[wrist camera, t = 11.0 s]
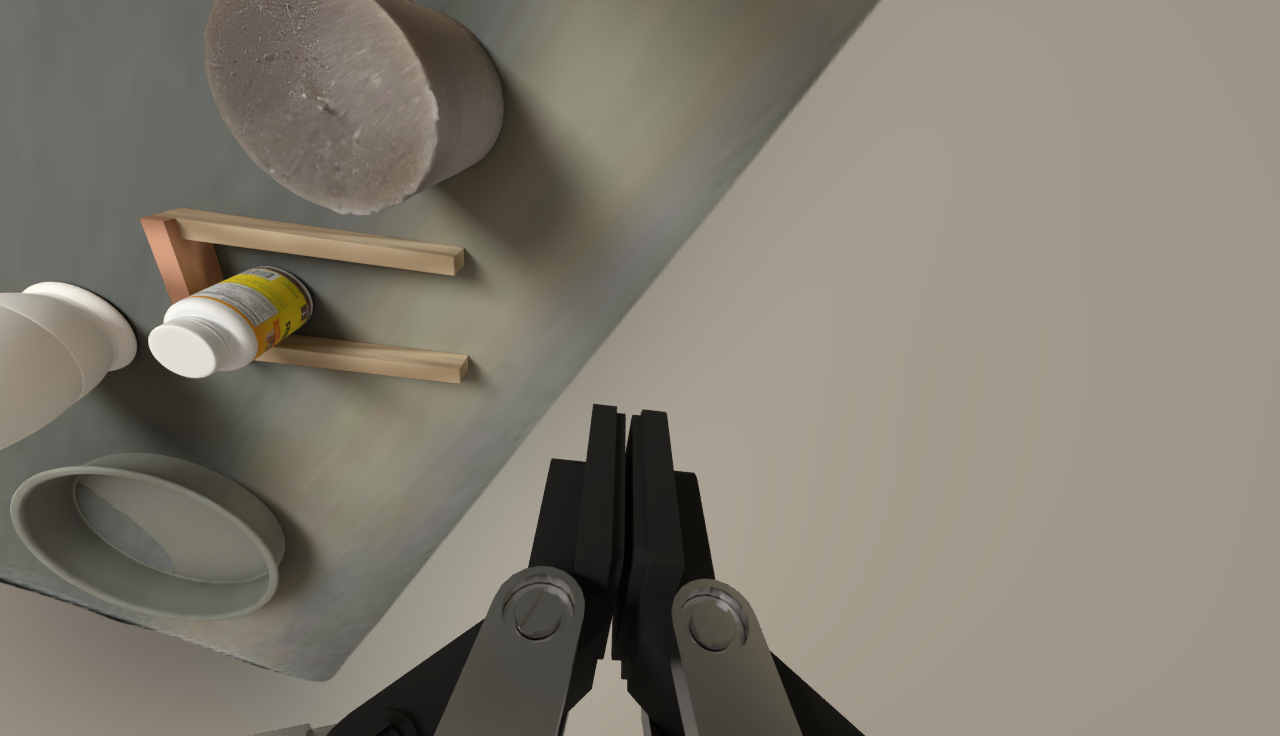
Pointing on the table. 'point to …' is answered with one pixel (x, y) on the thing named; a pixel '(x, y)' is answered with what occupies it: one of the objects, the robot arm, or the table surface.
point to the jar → (54, 353)
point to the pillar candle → (352, 96)
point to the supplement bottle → (231, 322)
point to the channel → (195, 265)
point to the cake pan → (156, 536)
